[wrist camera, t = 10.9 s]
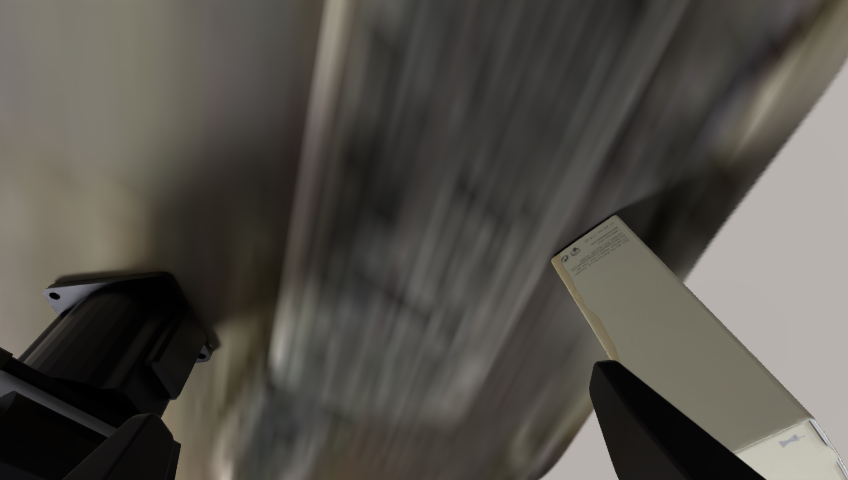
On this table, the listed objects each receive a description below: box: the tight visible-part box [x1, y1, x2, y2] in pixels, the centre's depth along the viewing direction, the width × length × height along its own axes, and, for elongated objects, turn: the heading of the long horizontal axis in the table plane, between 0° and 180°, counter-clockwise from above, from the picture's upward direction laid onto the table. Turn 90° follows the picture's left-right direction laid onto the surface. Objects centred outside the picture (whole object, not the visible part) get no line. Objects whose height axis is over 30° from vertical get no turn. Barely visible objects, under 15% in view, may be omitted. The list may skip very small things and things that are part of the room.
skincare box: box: [551, 215, 848, 480], centre depth 19 cm, size 6×4×12 cm
